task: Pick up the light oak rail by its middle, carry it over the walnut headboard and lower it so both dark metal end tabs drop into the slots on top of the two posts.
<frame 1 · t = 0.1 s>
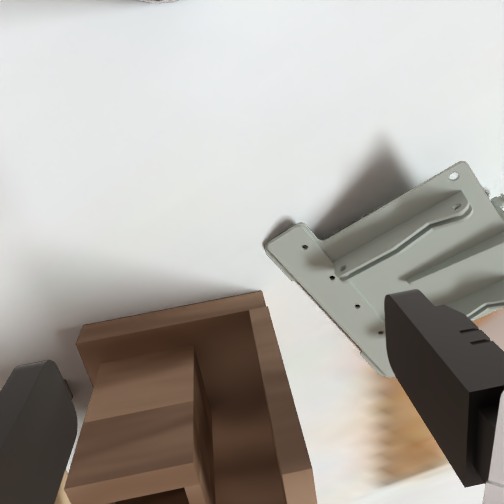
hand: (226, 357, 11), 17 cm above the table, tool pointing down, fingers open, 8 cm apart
metal bracket: (399, 258, 31), on the table
walnut headboard: (185, 451, 36), on the table
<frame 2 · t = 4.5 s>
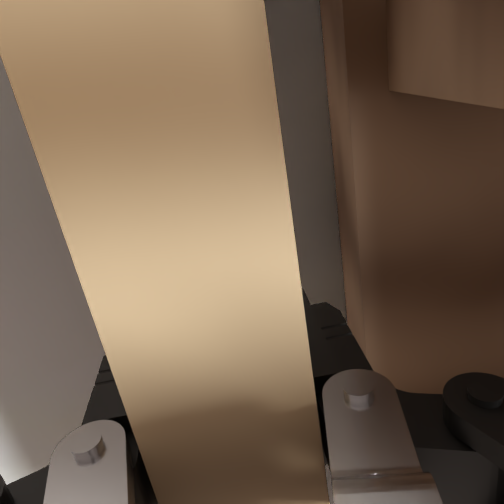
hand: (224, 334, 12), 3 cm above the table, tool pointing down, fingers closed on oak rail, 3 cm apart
oak rail: (220, 281, 15), on the table, touching gripper
walnut headboard: (459, 235, 15), on the table
when the fingers open (11 cm above the table, at t = 9.3 s): oak rail stays where it is, resting on walnut headboard.
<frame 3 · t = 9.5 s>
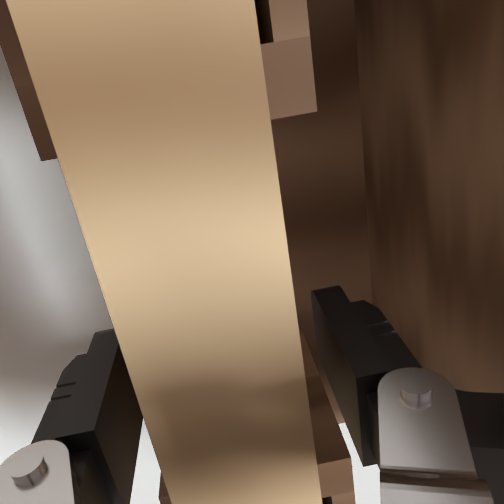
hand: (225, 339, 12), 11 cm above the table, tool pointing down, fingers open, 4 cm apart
oak rail: (217, 271, 15), point 7 cm above the table, touching walnut headboard
walnut headboard: (212, 209, 22), on the table
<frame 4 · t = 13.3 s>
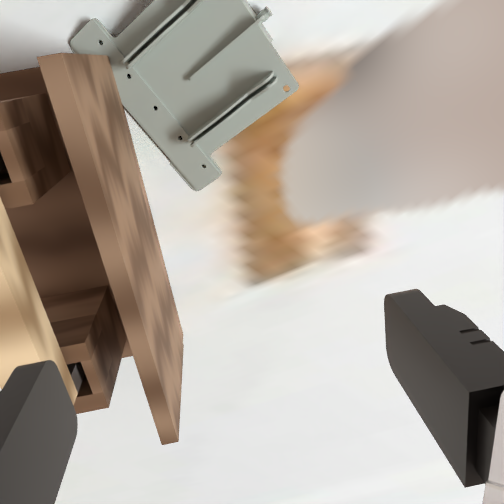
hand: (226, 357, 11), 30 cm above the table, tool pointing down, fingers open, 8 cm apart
metal bracket: (196, 73, 37), on the table
oak rail: (35, 262, 34), point 7 cm above the table, touching walnut headboard
walnut headboard: (61, 229, 40), on the table
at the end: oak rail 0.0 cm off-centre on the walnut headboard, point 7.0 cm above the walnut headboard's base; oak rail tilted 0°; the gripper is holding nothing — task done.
